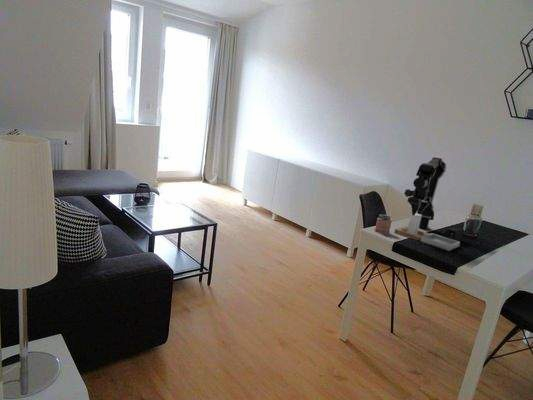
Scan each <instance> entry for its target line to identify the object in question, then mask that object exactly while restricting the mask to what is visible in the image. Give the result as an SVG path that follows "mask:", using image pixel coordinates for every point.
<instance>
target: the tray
mask: <svg viewBox="0 0 533 400" xmlns="http://www.w3.org/2000/svg"><path fill="white" fill-rule="evenodd" d="M420 243H423V244H426V245H429V246H432V247H435V248H438V249H441V250H444V251H447V252H450V251H452V250H455V249H457V248H459V247H460V246H461V244H460V243H461V241H455V240H452V239H449V238H446V237H445V236H442V235H439V234H436V233H432V232H431V233H429V234H428V235H425V236H423V237H421V240H420Z"/></svg>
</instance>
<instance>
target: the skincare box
mask: <svg viewBox="0 0 533 400" xmlns="http://www.w3.org/2000/svg"><path fill="white" fill-rule="evenodd" d="M421 217H422V215H421V214H417V212H416V214H415V215H412V213H411V214H410V218H409V221H408V226H407V227H408V229H407V231H406V232H408V233H411V234H414V235H417V236H418V234H417V232H418V230H419V225H420V221H421Z"/></svg>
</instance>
